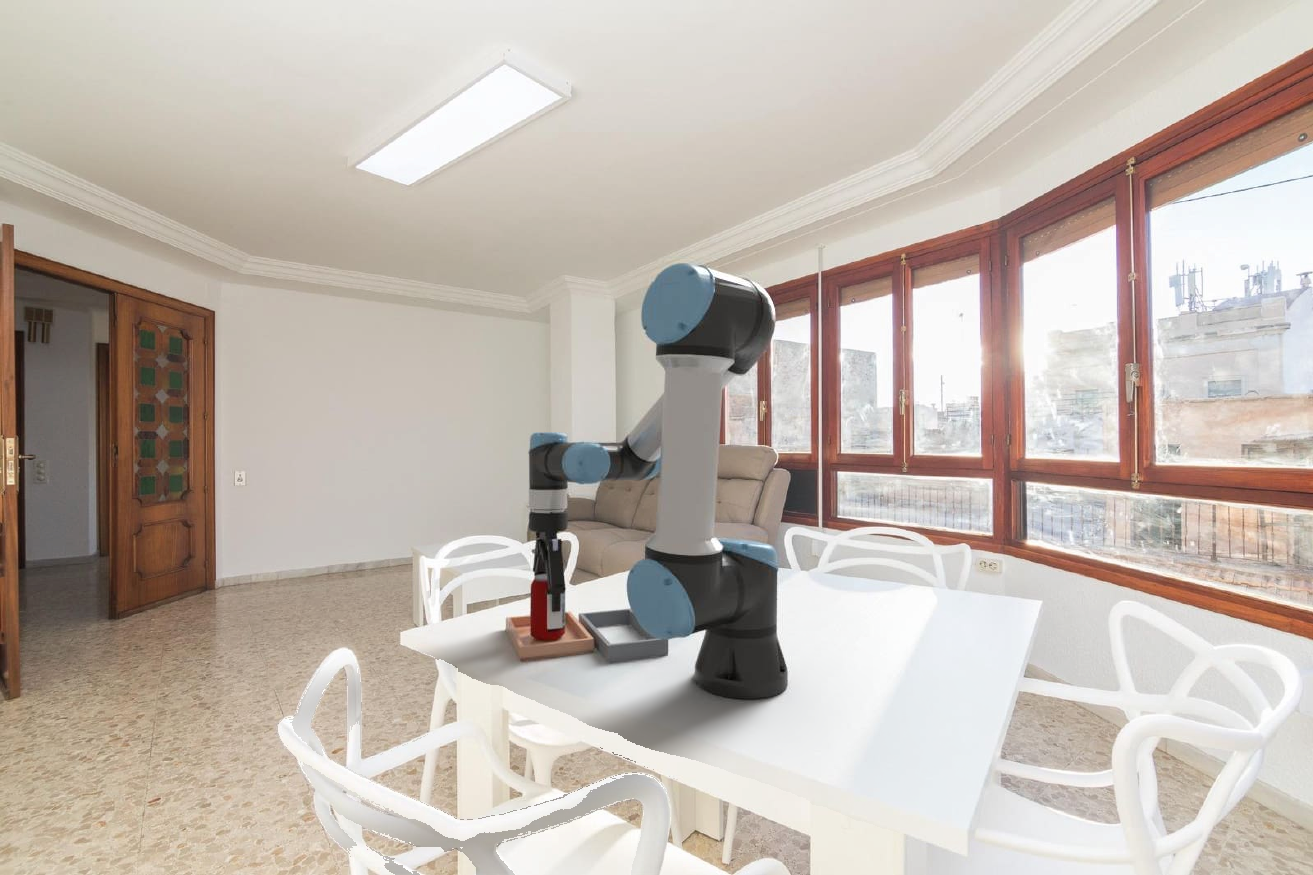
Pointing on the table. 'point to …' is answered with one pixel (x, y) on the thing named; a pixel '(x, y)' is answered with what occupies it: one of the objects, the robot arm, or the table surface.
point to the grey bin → (625, 649)
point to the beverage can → (543, 611)
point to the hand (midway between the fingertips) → (547, 618)
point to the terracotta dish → (533, 649)
